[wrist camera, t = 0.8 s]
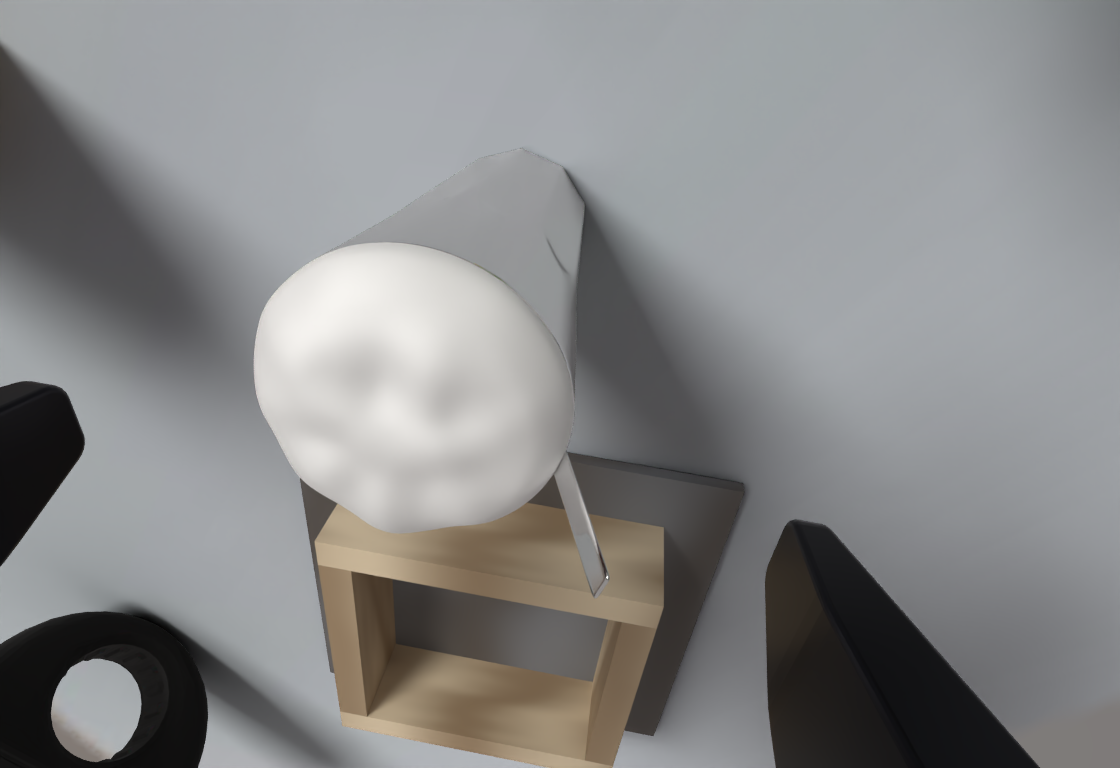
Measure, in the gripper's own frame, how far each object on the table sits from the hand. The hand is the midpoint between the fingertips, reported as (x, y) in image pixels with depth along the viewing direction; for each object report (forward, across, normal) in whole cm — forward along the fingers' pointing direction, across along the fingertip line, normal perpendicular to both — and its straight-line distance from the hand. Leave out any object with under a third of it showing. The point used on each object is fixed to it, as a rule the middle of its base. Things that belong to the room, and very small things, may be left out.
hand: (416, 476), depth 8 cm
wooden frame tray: (+9, 0, +14) cm, 17 cm away
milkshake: (+10, 0, 0) cm, 10 cm away
